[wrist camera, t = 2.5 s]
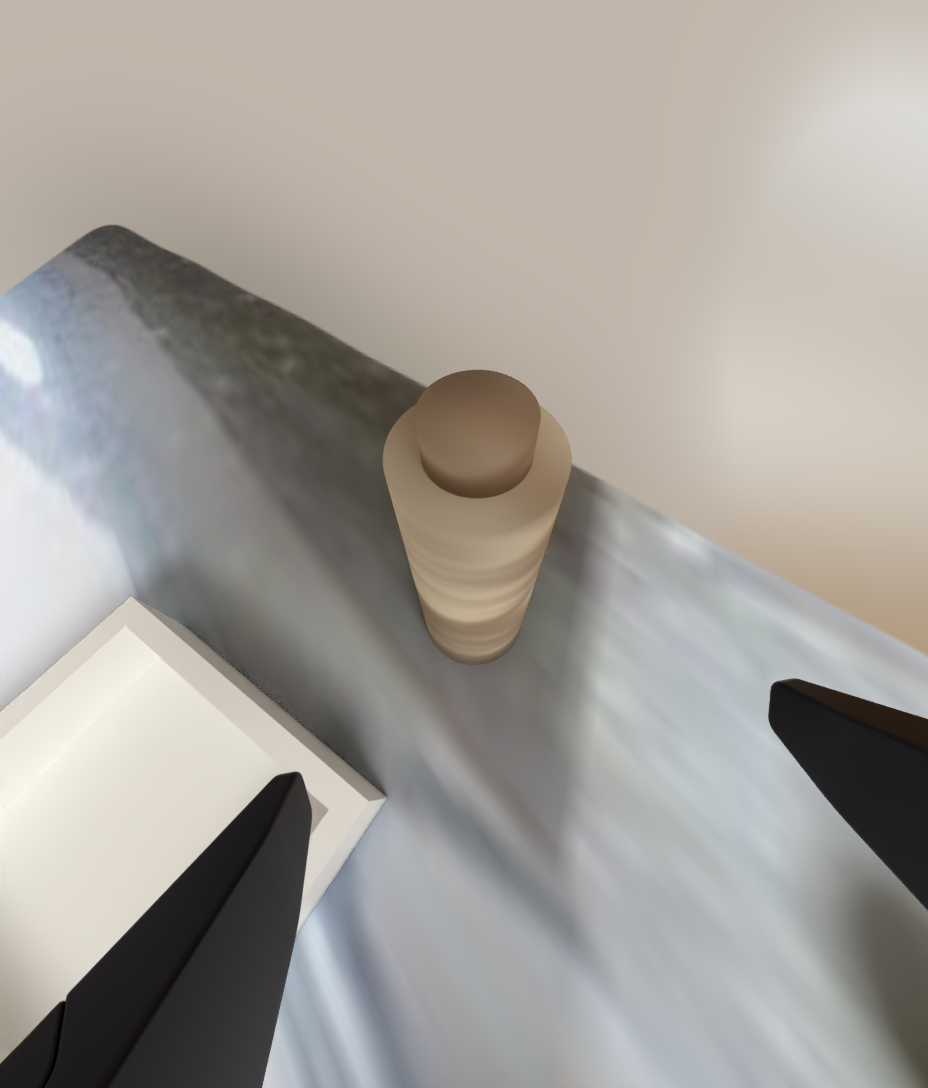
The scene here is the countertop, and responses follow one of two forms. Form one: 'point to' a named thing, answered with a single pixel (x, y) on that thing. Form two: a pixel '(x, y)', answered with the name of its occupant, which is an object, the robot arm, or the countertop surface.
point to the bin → (138, 796)
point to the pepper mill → (476, 505)
